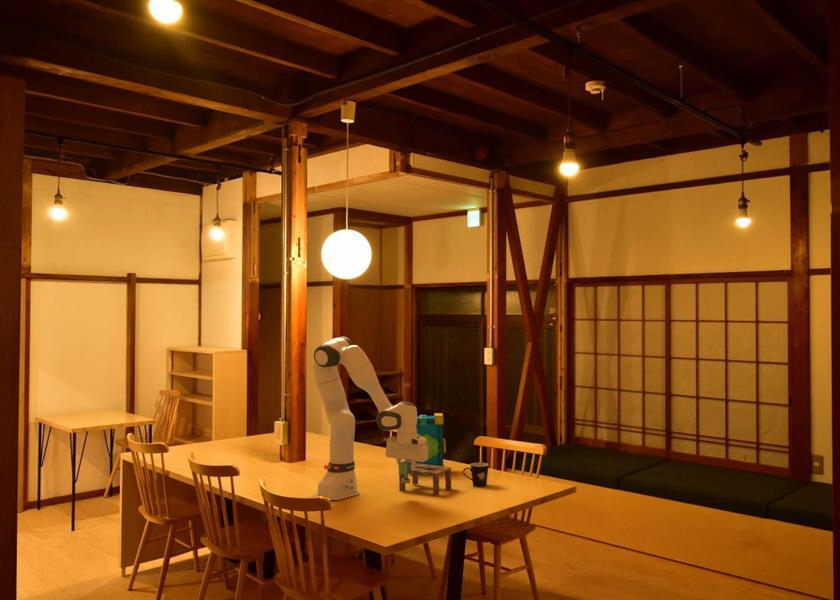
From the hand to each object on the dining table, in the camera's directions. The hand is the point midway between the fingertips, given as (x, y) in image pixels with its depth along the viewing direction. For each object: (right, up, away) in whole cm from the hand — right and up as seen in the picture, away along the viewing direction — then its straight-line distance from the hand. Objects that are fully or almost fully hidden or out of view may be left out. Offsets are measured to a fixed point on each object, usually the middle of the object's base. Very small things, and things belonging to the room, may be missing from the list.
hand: (406, 469), depth 302 cm
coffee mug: (+33, -13, +22) cm, 42 cm away
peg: (0, -6, 0) cm, 6 cm away
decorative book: (+8, -14, +50) cm, 53 cm away
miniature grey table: (+9, -13, +15) cm, 22 cm away
